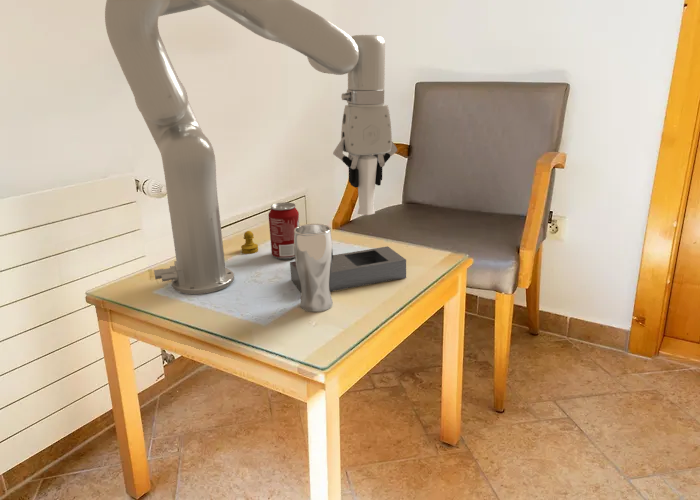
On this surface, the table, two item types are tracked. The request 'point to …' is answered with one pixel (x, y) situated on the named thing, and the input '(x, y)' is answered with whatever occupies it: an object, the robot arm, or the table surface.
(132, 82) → the robot arm
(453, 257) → the table surface
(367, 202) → the perfume bottle
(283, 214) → the soda can
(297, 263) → the beer glass
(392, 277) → the grey block with hole
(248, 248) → the chess piece
